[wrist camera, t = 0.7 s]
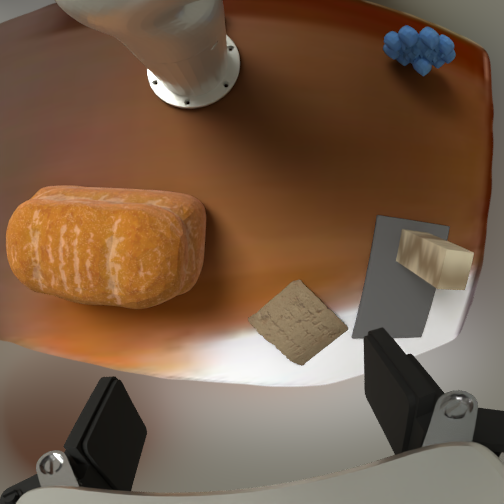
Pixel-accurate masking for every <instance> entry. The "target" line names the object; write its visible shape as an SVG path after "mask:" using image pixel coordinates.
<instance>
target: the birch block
mask: <svg viewBox="0 0 504 504" xmlns="http://www.w3.org/2000/svg"><path fill="white" fill-rule="evenodd" d="M473 256H474V253H473V252H471V251H469V250H467V249H464V248H462V247H460V246H458V245H455V244H453V243H451V242H448V241H446V240H444V239H441V238H439V237H437V236H434V235H432V234H430V233H427V232H420V231H413V230H406V229H402V232H401V237H400V243H399V248H398V253H397V258H396V261H397V262H398V263H400V264H401V265H403V266H404V267H406V268H407V269H409V270H410V271H412V272H413V273H415V274H416V275H418V276H419V277H421V278H422V279H424V280H425V281H427V282H428V283H429V284H431V285H432V286H434V287H435V288H437V289H450V290H465V287H466V284H467V280H468V276H469V272H470V268H471V264H472V260H473Z"/></svg>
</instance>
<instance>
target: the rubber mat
mask: <svg viewBox="0 0 504 504" xmlns="http://www.w3.org/2000/svg"><path fill="white" fill-rule="evenodd" d="M449 228H450V227H449V226H444V225H438V224H432V223H426V222H420V221H414V220H407V219H401V218H394V217H387V216H381V215H377V218H376V224H375V230H374V236H373V242H372V247H371V253H370V258H369V263H368V268H367V273H366V278H365V283H364V287H363V292H362V296H361V301H360V305H359V309H358V314H357V318H356V322H355V326H354V330H353V334H352V338H364V336H367V335H368V332H369V331H371V330H374V329H378V328H381V327H383V328H384V329H385V330H386V331H387V332H388V333H389V335H390V336H391V337H392V338H408V337H421V336H422V333H423V330H424V327H425V324H426V321H427V317H428V314H429V311H430V307H431V304H432V301H433V297H434V293H435V290H436V288H435V287H434V286H432V285H431V284H429V283H428V282H427V281H425V280H424V279H422V278H421V277H419V276H418V275H416V274H415V273H413V272H412V271H410V270H409V269H407V268H406V267H404V266H403V265H401V264H400V263H398V262H397V261H396V258H397V253H398V248H399V243H400V237H401V232H402V229H406V230H413V231H420V232H427V233H430V234H432V235H434V236H437V237H439V238H441V239H444V240H446V241H447V238H448V233H449Z"/></svg>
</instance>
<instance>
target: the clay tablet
mask: <svg viewBox="0 0 504 504" xmlns="http://www.w3.org/2000/svg"><path fill="white" fill-rule="evenodd" d="M248 321H249V322H250V324H251V325H252V326H254V328H256V329H257V332H258V333H259V334H260V335H263V337H264V338H265V339H266V340H267V341H268V342H270V343H272V344H274V345H275V346H276V348H277V349H279V350H280V351H281V353H282V354H283V355H285V356H286V357H287V358H288V359H289V360H290V361H292V362H294V363H297V364H299V365H301V366H302V365H304V364H305V363H306V362H307V361H309V360H310V359H311V358H312V357H313V356H315V355H316V354H317V353H319V352H320V351H321V350H322V349H324V348H325V347H326V346H328V345H329V344H330V343H332V342H333V341H334V340H335V339H337V338H338V337H339V336H340V335H342V334H343V333H344V332H346V331H347V330H348V327H347V325H345V324H344V323H343V322H341V320H340V319H339V318H337V316H336V315H335V314H334V313H333V312H332V311H331V310H329V309H327V307H326V306H325V305H324V304H323V303H322V302H321V301H320V299H319V298H317V297H316V296H315V295H314V294H313V292H311V290H309V289H308V288H307V287H306V286H305V285H304V284H303V283H302V281H301V280H297V281H293V282H291V283H290V284H289V285H288V286H287V287H286V288H285V289H283V290H282V291H281V292H280V293H279V294H278V295H276V296H275V297H274V298H273V299H272V300H270V301H269V302H268V303H267V304H266V305H265V306H264V307H262V308H261V309H260V310H259V311H258V312H257V313H256V314H254V315H252V316H251V317H250V318H249V317H248Z"/></svg>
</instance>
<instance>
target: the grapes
mask: <svg viewBox="0 0 504 504" xmlns="http://www.w3.org/2000/svg"><path fill="white" fill-rule="evenodd" d="M384 43H385V44H384V47H383V50H384V52H385V54H386V55H388V56H389V57H390V58H392V59H394V60H395V59H396V60H397V61H398V62H399V63H400V64H402V65H404V66H406V65H407V64H409V63H411V64H412V65H413V68H414V69H415V70H416V71H417V72H418V73H419V74H421V75H422V76H425V75H426V74H428V73H429V72H430V71H431V68H432V66H431V65H433V66H435V67H436V68H440V67H441V66H442V65H443V64H444V63H445V62H446V63H450V62H451V61H452V60H453V59H454V58H455V55H456V54H455V51H454V43H453V42H452V41H451V39H450V38H448V37H447V36H445V35H443V34H442V35H440V36H439V34H438V33H437V32H436V31H435V30H433V29H432V28H430V27H425V28H424V29H422V30H421V32H420V34H418V33H417V31H416V30H414V29H413V28H412V27H410V26H408V25H406V26H404V27H402V28H401V29H400V30H399V32H398V33H396V32H394V31H391V32H389V33H387V34H386V36H385V37H384Z"/></svg>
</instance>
